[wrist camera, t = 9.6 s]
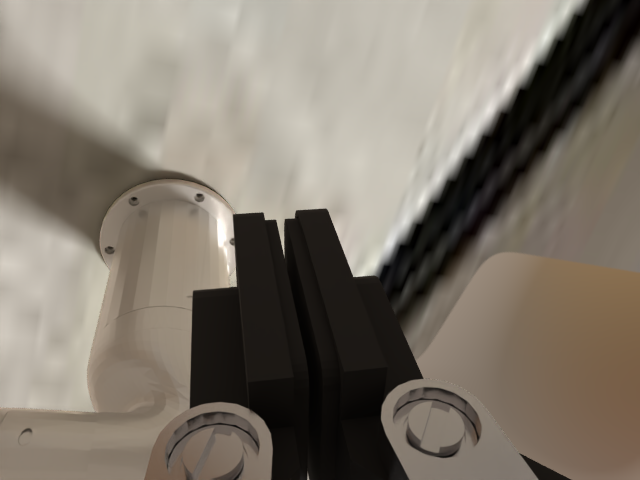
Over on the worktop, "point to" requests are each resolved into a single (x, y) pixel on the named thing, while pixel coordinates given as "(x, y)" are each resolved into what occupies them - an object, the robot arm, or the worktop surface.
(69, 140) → the worktop surface
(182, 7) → the worktop surface
